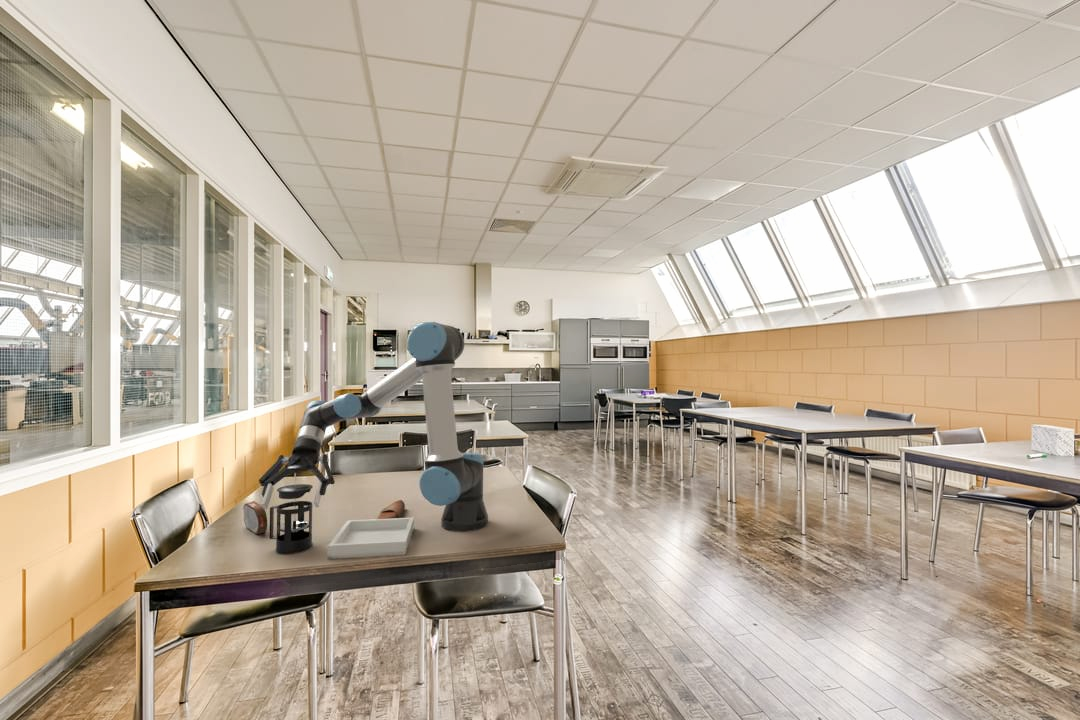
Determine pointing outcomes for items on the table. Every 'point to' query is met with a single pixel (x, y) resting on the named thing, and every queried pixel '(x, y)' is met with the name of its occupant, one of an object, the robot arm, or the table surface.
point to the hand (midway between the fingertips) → (290, 505)
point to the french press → (299, 538)
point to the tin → (255, 517)
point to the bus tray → (372, 538)
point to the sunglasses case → (393, 510)
